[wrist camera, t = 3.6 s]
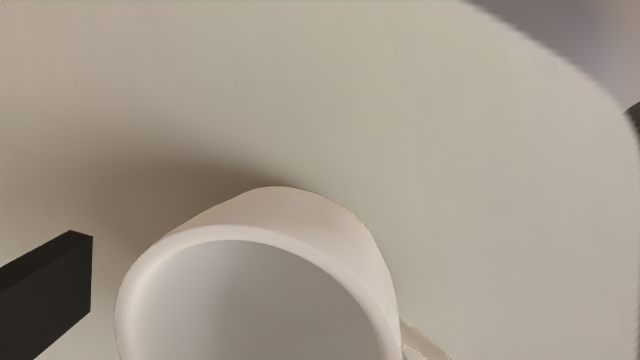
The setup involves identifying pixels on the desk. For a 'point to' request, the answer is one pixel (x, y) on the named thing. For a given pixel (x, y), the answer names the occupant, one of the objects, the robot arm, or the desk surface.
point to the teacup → (264, 287)
